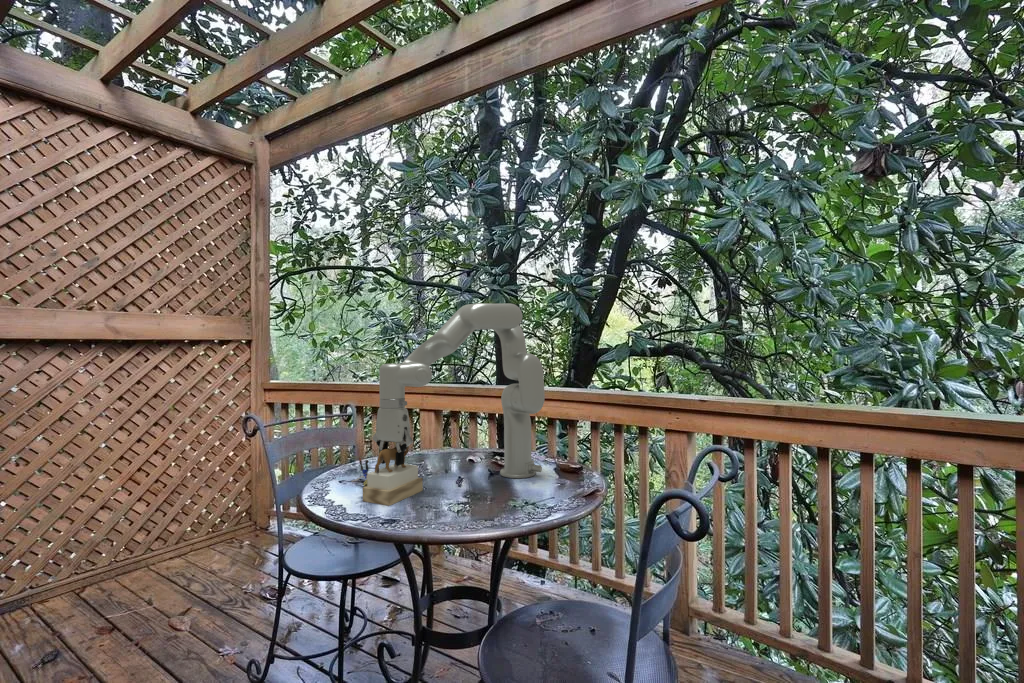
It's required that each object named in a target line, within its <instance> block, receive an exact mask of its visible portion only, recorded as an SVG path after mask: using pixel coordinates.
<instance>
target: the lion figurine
mask: <svg viewBox="0 0 1024 683" xmlns="http://www.w3.org/2000/svg"><path fill="white" fill-rule="evenodd" d="M404 442H406V440H404ZM400 446H401V443H400ZM409 447H410V445H409V446H408V447H407V449H406V451H404V464H406V461H405V460H406V456H407V455H408V453H409ZM396 452H398V451H397V447H396V446H394V447H393V448H388V449H384V450H382V451H381V450H379V453H378V457H377V460H376V461H377V463H376V464H375V465H374V471H375V472H376V473H379V469H380V465H381V464H382V461H383V460H384V461H385V463H384V464H385V467H384V468H386V469H387V470H388V472H392V470H391V469H389V466H390V464H391V461H393V462H394V464H393V465H394V467H398V466H397V465H396ZM404 464H402V465H401V466H402V468H405V467H406V466H405V465H404Z"/></svg>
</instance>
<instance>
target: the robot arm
mask: <svg viewBox="0 0 1024 683" xmlns="http://www.w3.org/2000/svg"><path fill="white" fill-rule="evenodd" d="M522 321H523V312H522V310H521V308H520V307H519V306H518V305H517V304H514V303H509V302H508V303H507V302H506V303H503V302H502V303H490V302H489V303H485V302H483V303H479V302H476V303H469V304H465V305H462V306H461V307H460V308H459V309H458V310H456V311H455V313H453V315H451V317H450V318H449V319H448V320H446V321H445V323H444V324H443V325H442V326H441V327H440V328H439V329H438V330H437V332H435V333H434V334H433V335H431V336H430V337H429V338H427V340H425V341H423V343H421V344H420V345H419V346H417V347H416V348H415V349H414V350H413V351H412V352H411V353H409V355H408V356H407V357H406V358H405V359H404V361H402V363H382V364H381V365H380V367H379V372H378V373H379V381H378V382H379V385H378V386H379V408H378V410H377V415H376V422H375V433H374V435H373V437H372V440H373V441H374V442H375V443H376V445H377V447H378V449H379V451H382V450H384V449H389V444H390V443H395V447H397V451H398V452H396V465H397V466H399V465H402V464H405V463H404V451H406V449H407V447H408V446H409V447H410V445H412V444H413V442H414V440H413V438H412V437H411V424H410V416H409V415H410V414H409V411H408V410H409V409H408V408H406V406H408V401H407V400H406V396H405V394H406V392H405V390H406V389H405V388H406V387H415V388H421V387H424V386H426V385H428V384H429V383H430V382H431V380H432V377H433V372H432V369H431V368H430V366H431V365H432V364H433V363H434V364H435V362H436V361H438V360H439V359H442V358H445V357H447V356H450V355H451V354H453V353H454V352H456V351H458V349H459V347H460V346H461V345H462V344H463V343H464V342H465V341H466V340H467V339H468V337H470V335H472V334H473V332H474V331H476V330H493V331H494V332H495V333H496V334H497V335H498V337H499V340H500V346H501V358H502V370H503V374H504V376H505V377H506V378H507V379H509V380H514V381H518V383H511V384H508V385H507V386H506V387H504V388H503V390H502V393H501V398H500V400H501V401H500V402H501V407H502V412H503V428H504V429H503V444H504V445H503V446H504V447H503V449H504V451H503V452H504V453H503V454H504V455H503V457H504V461H503V462H504V464H503V465H504V467H503V468H501V470H499V475H500V476H502V477H504V478H509V479H510V478H511V479H526V478H531V477H534V476H536V474H537V472H538V473H541V472H543V467H542V465H541V464H535V460H532V420H531V415H535V414H537V413H539V412H540V411H541V410H542V409H543V407H544V404H545V397H546V396H545V394H546V393H545V381H544V367H543V365H542V362H541V359H540V358H538V356H536V355H535V354H532V353H529V352H527V345H526V338H525V337H526V336H525V333H524V331H523V329H522V328H521V325H520V324H521V323H522ZM404 440H406V442H404ZM400 443H401V446H400ZM381 464H382V465H383V464H385V461H384V460H383V461H382V463H381Z"/></svg>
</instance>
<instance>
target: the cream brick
mask: <svg viewBox="0 0 1024 683" xmlns="http://www.w3.org/2000/svg"><path fill="white" fill-rule="evenodd" d="M404 465H405V466H406V467H405V468H402V466H401V465H399V466H398V467H394V464H392V465H389V469H391V470H392V472H388V470H387V469H386V468H385V467H382V468H379V473H376V472H375V470H374V471H371V472H367V478H366V480H367V485H368V487H369V488H376V489H383V490H391V489H394V488H396V487H398V486H401V485H403V484H406V483H408V482H411V481H413V480H415V479H418V477H419V466H418V465H416V464H415V465H414V464H408V463H407V464H406V463H404Z"/></svg>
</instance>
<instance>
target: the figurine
mask: <svg viewBox="0 0 1024 683" xmlns="http://www.w3.org/2000/svg"><path fill="white" fill-rule="evenodd" d="M358 459H359V460H358V463H359V465H360V471H361V472H362V474H363V475H361V476H360V477H359V478H356V479H353V480H351V482H353V483H354V482H356V481H359V480H361V479H362V478H364V480H365V481H364V482H363V486H364V487H366V486H368V485H367V474H368V473H369V466H368V463H369V462H370V461H369V460H368V459H366V460H365V468H364V467H363V463H362V462H363V461H362V458H361V457H358Z"/></svg>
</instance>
